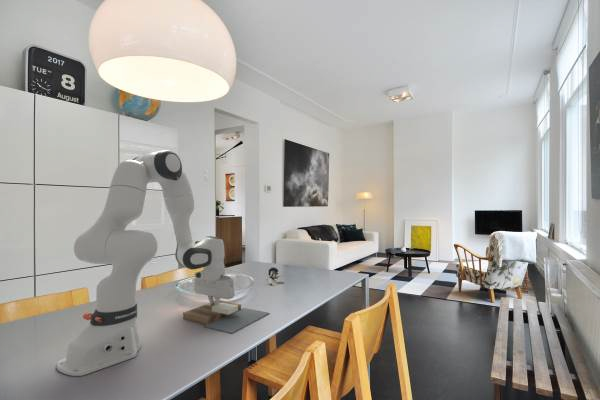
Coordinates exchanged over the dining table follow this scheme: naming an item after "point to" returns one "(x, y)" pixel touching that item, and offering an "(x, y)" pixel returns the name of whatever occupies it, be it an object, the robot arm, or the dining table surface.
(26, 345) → the dining table surface
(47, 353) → the dining table surface
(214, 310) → the white flat block
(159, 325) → the dining table surface
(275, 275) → the artificial flower
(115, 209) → the robot arm
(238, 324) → the mat
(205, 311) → the wooden board
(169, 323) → the dining table surface
